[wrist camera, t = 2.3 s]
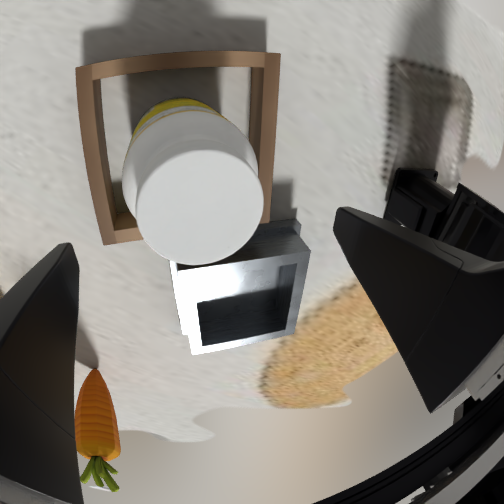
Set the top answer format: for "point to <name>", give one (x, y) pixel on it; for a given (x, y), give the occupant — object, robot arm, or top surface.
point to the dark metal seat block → (244, 290)
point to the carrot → (97, 430)
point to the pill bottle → (191, 182)
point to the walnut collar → (89, 76)
